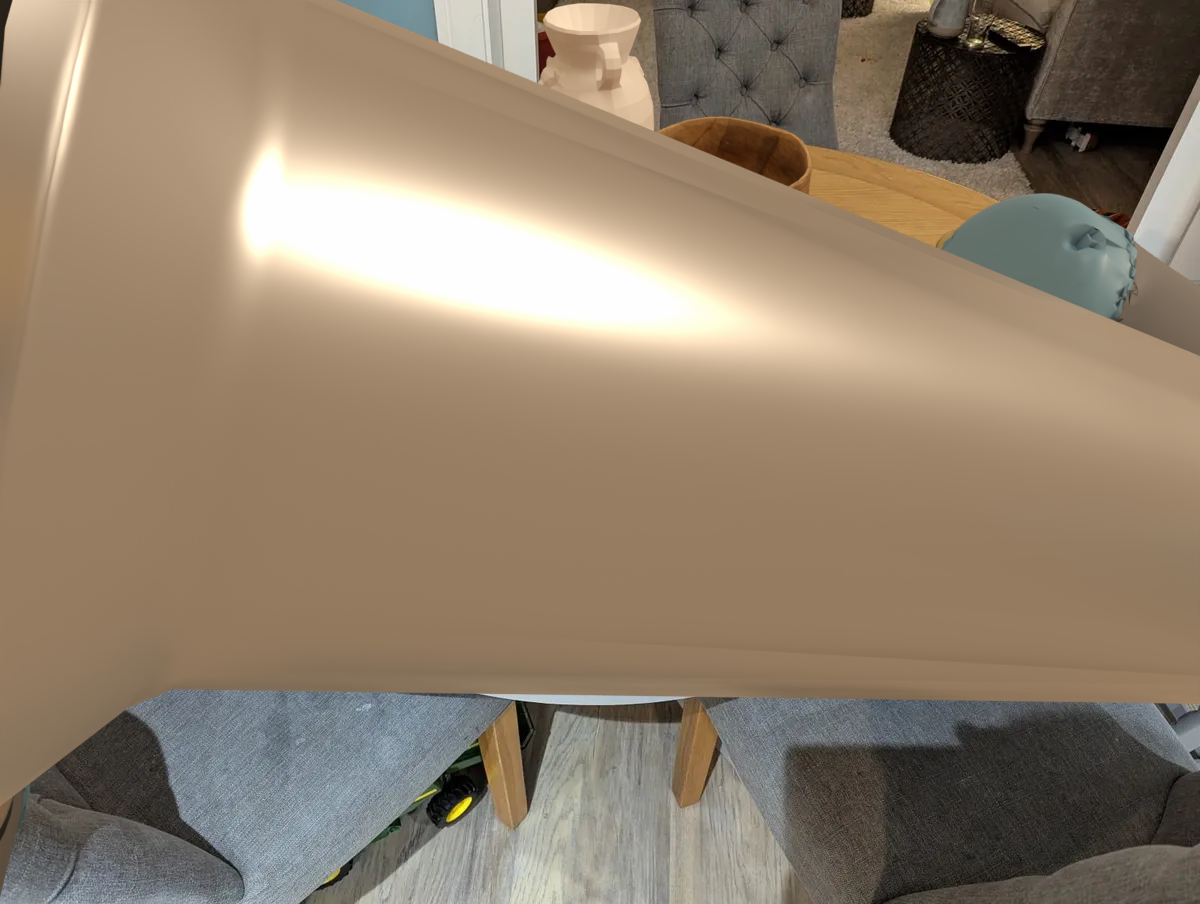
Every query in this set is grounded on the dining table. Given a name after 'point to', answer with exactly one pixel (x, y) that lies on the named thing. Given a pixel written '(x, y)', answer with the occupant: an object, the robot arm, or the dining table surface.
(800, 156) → the bowl
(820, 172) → the dining table surface
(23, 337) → the robot arm
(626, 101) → the pitcher
